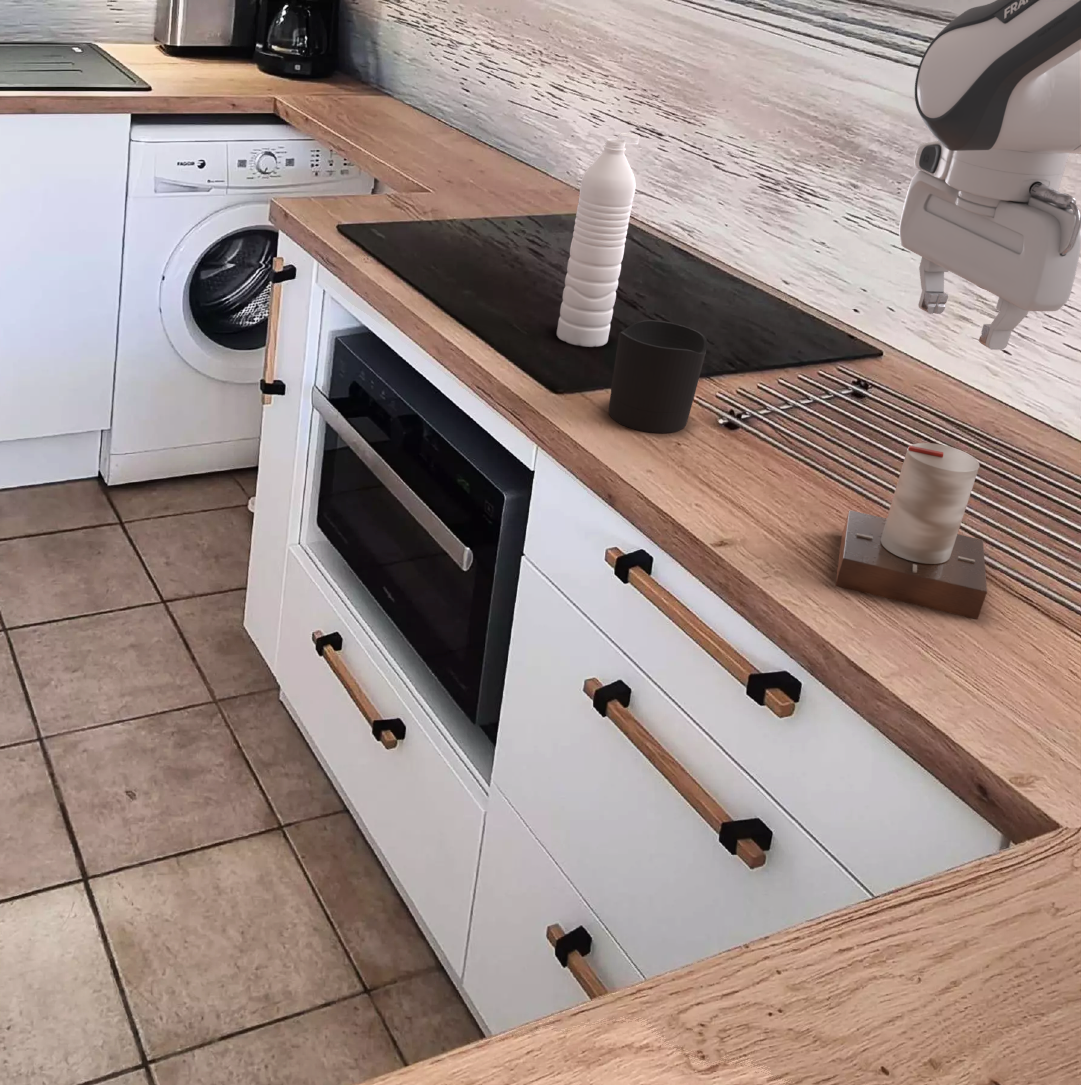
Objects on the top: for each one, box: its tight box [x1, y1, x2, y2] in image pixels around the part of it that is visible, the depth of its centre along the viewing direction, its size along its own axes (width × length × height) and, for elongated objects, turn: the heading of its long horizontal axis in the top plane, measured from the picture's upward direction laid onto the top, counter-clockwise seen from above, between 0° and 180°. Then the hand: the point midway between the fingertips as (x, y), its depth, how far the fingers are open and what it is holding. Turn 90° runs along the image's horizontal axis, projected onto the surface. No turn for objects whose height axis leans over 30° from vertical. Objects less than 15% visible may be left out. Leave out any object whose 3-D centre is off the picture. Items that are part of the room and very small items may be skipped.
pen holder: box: [608, 319, 708, 434], centre depth 155 cm, size 9×9×10 cm
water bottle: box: [556, 132, 641, 348], centre depth 175 cm, size 9×6×25 cm
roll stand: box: [834, 509, 988, 620], centre depth 128 cm, size 12×11×3 cm
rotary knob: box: [881, 442, 980, 564], centre depth 125 cm, size 6×6×9 cm
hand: (959, 328), depth 125 cm, fingers open, 8 cm apart
